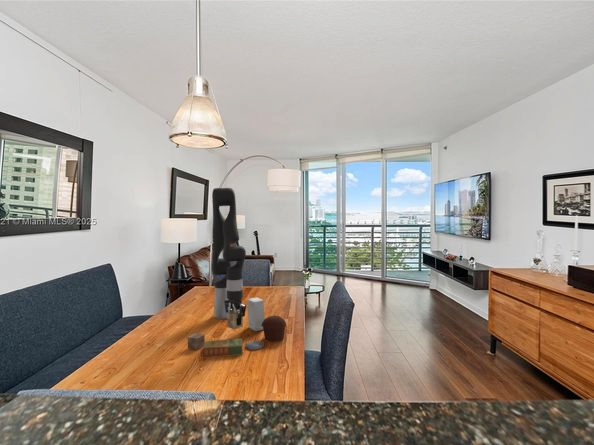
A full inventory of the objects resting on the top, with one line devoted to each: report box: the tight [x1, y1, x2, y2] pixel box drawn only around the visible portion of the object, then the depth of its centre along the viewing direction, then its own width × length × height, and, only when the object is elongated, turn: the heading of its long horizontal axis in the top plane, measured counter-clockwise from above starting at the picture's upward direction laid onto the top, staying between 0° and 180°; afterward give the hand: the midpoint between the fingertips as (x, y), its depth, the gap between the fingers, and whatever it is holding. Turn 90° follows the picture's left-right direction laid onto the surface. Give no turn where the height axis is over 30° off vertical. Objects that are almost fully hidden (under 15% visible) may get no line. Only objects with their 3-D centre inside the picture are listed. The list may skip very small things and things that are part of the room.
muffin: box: [261, 315, 287, 343], centre depth 146 cm, size 12×11×10 cm
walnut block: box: [187, 332, 206, 351], centre depth 137 cm, size 5×5×5 cm
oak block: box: [227, 310, 244, 331], centre depth 148 cm, size 5×5×7 cm
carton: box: [201, 338, 244, 359], centre depth 132 cm, size 8×16×4 cm, turn 100°
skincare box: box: [246, 296, 266, 332], centre depth 158 cm, size 8×6×15 cm
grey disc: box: [244, 340, 265, 351], centre depth 137 cm, size 8×8×1 cm
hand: (235, 323), depth 148 cm, fingers closed on oak block, 5 cm apart
